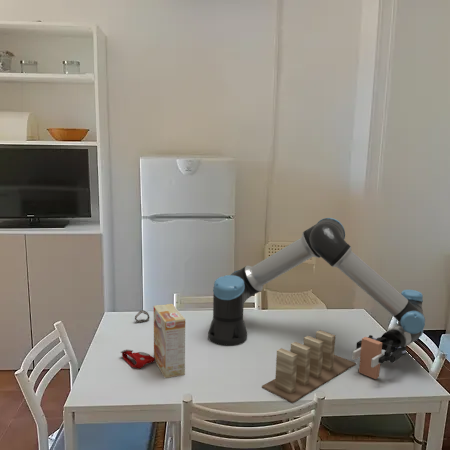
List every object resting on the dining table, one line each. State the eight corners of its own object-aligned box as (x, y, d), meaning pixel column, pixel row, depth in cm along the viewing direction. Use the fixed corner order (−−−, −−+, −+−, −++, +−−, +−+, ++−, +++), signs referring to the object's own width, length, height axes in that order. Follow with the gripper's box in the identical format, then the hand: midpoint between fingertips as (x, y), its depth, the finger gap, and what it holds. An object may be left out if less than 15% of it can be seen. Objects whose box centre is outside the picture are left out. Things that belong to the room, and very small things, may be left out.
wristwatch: (150, 321, 196) (150, 310, 195) (136, 324, 193) (136, 313, 192) (147, 319, 199) (147, 307, 198) (133, 321, 196) (133, 310, 195)
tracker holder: (156, 353, 166) (154, 359, 156) (153, 365, 166) (151, 372, 156) (122, 345, 165) (118, 351, 155) (119, 357, 165) (115, 364, 155)
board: (292, 403, 138) (292, 401, 138) (261, 387, 147) (261, 385, 147) (355, 364, 163) (356, 362, 163) (326, 352, 172) (326, 351, 172)
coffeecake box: (152, 358, 164) (152, 305, 160) (172, 355, 167) (173, 303, 163) (164, 379, 150) (164, 321, 147) (185, 375, 153) (186, 318, 150)
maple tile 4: (290, 393, 142) (292, 357, 140) (275, 386, 146) (276, 350, 144) (295, 391, 144) (297, 354, 142) (279, 383, 148) (281, 348, 146)
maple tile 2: (317, 378, 152) (319, 343, 150) (301, 371, 156) (303, 337, 154) (321, 375, 154) (323, 341, 151) (306, 369, 158) (308, 335, 156)
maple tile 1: (329, 371, 157) (331, 337, 155) (314, 365, 161) (316, 332, 159) (333, 369, 159) (335, 335, 156) (318, 362, 163) (320, 330, 160)
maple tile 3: (304, 385, 147) (306, 350, 145) (288, 378, 151) (290, 343, 149) (308, 383, 149) (310, 347, 147) (293, 376, 153) (295, 341, 151)
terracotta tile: (375, 379, 153) (378, 344, 150) (358, 372, 157) (361, 338, 155) (379, 376, 154) (382, 342, 152) (362, 370, 159) (365, 336, 156)
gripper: (421, 358, 161) (389, 381, 145) (370, 340, 174) (336, 360, 158) (423, 338, 160) (392, 359, 143) (372, 321, 173) (337, 339, 157)
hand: (362, 359), depth 151 cm, fingers closed on terracotta tile, 6 cm apart
